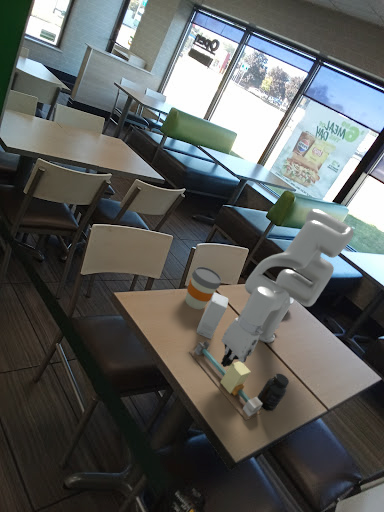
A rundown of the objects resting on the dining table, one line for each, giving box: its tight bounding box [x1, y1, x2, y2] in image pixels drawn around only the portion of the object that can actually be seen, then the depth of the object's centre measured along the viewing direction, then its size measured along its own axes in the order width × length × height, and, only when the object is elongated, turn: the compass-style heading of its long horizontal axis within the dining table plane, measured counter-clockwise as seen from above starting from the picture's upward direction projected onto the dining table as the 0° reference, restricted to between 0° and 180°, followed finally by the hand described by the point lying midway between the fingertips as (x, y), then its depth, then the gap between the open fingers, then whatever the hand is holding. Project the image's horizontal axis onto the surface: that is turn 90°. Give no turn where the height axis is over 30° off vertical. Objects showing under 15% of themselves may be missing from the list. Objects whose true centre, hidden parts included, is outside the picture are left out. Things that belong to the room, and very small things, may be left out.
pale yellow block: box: [220, 360, 251, 393], centre depth 128 cm, size 5×5×8 cm
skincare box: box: [196, 292, 229, 340], centre depth 149 cm, size 8×7×16 cm
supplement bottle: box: [256, 372, 290, 412], centre depth 128 cm, size 7×7×12 cm
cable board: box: [188, 340, 262, 421], centre depth 131 cm, size 8×30×5 cm, turn 40°
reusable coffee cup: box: [184, 265, 223, 310], centre depth 164 cm, size 13×13×15 cm
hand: (225, 364), depth 129 cm, fingers closed
